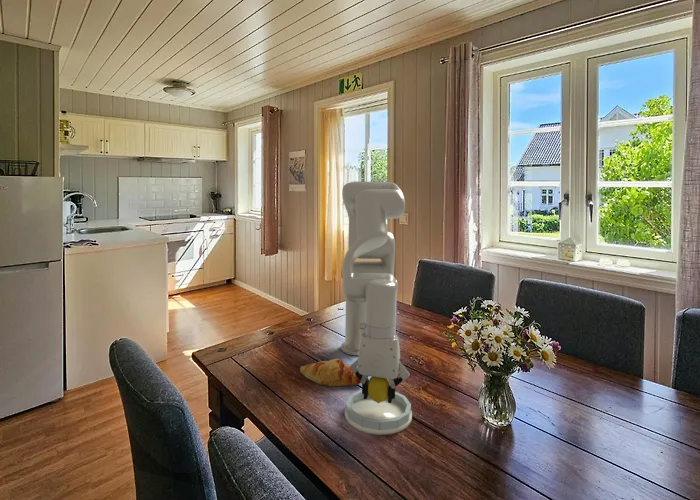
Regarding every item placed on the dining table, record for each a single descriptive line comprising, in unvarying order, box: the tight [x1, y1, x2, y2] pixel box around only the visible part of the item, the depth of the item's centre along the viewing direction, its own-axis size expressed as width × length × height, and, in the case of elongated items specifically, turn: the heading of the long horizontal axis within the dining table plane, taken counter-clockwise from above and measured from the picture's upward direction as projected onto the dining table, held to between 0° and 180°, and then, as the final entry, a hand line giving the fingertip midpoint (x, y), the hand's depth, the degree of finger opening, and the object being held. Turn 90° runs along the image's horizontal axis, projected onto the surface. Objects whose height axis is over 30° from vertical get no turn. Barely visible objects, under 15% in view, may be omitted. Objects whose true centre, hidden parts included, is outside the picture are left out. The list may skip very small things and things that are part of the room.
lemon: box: [368, 376, 390, 403], centre depth 103 cm, size 6×6×8 cm
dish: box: [344, 389, 413, 436], centre depth 103 cm, size 17×17×3 cm
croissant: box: [299, 358, 361, 387], centre depth 122 cm, size 21×10×8 cm
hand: (378, 397), depth 103 cm, fingers closed on lemon, 5 cm apart
